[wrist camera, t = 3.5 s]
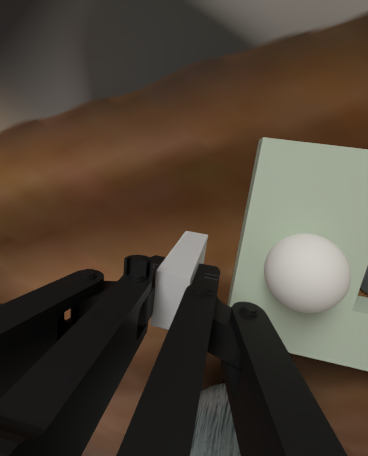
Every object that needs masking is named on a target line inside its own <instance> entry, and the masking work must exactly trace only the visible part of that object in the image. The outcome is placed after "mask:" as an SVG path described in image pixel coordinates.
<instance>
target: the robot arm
mask: <svg viewBox="0 0 368 456" xmlns="http://www.w3.org/2000/svg"><path fill="white" fill-rule="evenodd" d="M207 239H208V235H206V234H200V233H195V232H189V231H185V233H184V234H183V235H182V237H181V238H180V239H179V241H178V242H177V243H176V245H175V246H174V248H173V249H172V250H171V252H170V253H169V254H168V256H167V257H161V256H156V255H155V256H153V257H147V256H143V255H131V256H127V257H126V258H125V260H124V275H123V276H122V277H121V278H120V279H119V280H118V281H104V275H103V273H101V272H100V271H97V270H94V269H91V270H90V269H86V270H80V271H77V272H75V273H72V274H70V275H68V276H66V277H63V278H61V279H59V280H56V281H54V282H52V283H50V284H47V285H45V286H43V287H41V288H38V289H36V290H34V291H31V292H29V293H27V294H25V295H22V296H20V297H18V298H16V299H13V300H11V301H9V302H7V303H4V304H0V456H81V455H82V453H83V451H84V449H85V447H86V446H87V444H88V442H89V440H90V438H91V436H92V434H93V432H94V430H95V429H96V427H97V425H98V423H99V421H100V419H101V417H102V415H103V414H104V412H105V410H106V408H107V406H108V404H109V402H110V400H111V398H112V397H113V395H114V393H115V391H116V389H117V387H118V385H119V383H120V381H121V380H122V378H123V376H124V374H125V372H126V370H127V368H128V366H129V364H130V363H131V361H132V359H133V357H134V355H135V353H136V351H137V349H138V348H139V346H140V344H141V342H142V340H143V338H144V336H145V334H146V332H147V327H148V321H149V319H150V317H151V326H155V327H159V328H164V329H168V330H169V331H168V333H167V335H166V338H165V340H164V343H163V345H162V347H161V350H160V352H159V355H158V357H157V359H156V362H155V364H154V367H153V369H152V371H151V374H150V376H149V379H148V381H147V383H146V386H145V388H144V391H143V393H142V395H141V398H140V400H139V403H138V405H137V408H136V410H135V412H134V415H133V417H132V420H131V422H130V424H129V427H128V429H127V432H126V434H125V436H124V439H123V441H122V444H121V446H120V448H119V451H118V453H117V455H116V456H190V453H191V447H192V441H193V435H194V429H195V423H196V417H197V411H198V405H199V399H200V393H201V387H202V381H203V375H204V369H205V363H206V357H207V352H209V353H211V354H212V355H214V356H216V357H218V358H220V359H221V368H222V372H223V377H224V381H225V386H226V391H227V395H228V400H229V404H230V409H231V413H232V418H233V423H234V427H235V432H236V436H237V441H238V445H239V450H240V455H241V456H347V454H346V452H345V450H344V449H343V447H342V445H341V443H340V442H339V440H338V438H337V436H336V435H335V433H334V431H333V429H332V428H331V426H330V424H329V422H328V421H327V419H326V417H325V415H324V414H323V412H322V410H321V408H320V407H319V405H318V403H317V401H316V400H315V398H314V396H313V394H312V393H311V391H310V389H309V387H308V386H307V384H306V382H305V380H304V379H303V377H302V375H301V373H300V372H299V370H298V368H297V366H296V365H295V363H294V361H293V359H292V358H291V356H290V354H289V352H288V351H287V349H286V347H285V345H284V344H283V342H282V340H281V338H280V337H279V335H278V333H277V331H276V330H275V328H274V326H273V324H272V323H271V321H270V319H269V317H268V316H267V314H266V312H265V311H264V310H263V309H262V308H261V307H259V306H258V305H256V304H253V303H251V302H237V303H234V304H233V306H232V307H230V306H228V305H226V304H224V303H222V302H221V301H220V300H219V299H218V297H217V289H218V283H219V276H220V270H219V269H218V267H215V266H210V265H205V264H204V258H205V251H206V245H207ZM70 308H71V317H70V318H69V319H67V320H65V319H64V312H65V311H67V310H68V309H70Z"/></svg>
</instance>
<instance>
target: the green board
mask: <svg viewBox="0 0 368 456" xmlns="http://www.w3.org/2000/svg"><path fill="white" fill-rule="evenodd" d="M300 233H308V234H315V235H319V236H322V237H324V238H326V239H328V240H330V241H331V242H333V243H334V244H335V245H337V246H338V247H339V248H340V249H341V251H342V252H343V253H344V255H345V256H346V258H347V260H348V263H349V265H350V270H351V283H350V287H349V289H348V292H347V294H346V295H345V297H344V298H343V299H342V301H340V302H339V303H338V304H337V305H336V306H334V307H333V308H331V309H329V310H326V311H323V312H319V313H302V312H298V311H295V310H292V309H290V308H288V307H286V306H284V305H283V304H282V303H280V302H279V301H278V300H277V299H276V298H275V297H274V296H273V295H272V293H271V292H270V290H269V288H268V286H267V284H266V281H265V277H264V264H265V260H266V257H267V255H268V253H269V251H270V250H271V248H272V247H273V246H274V245H275V244H276V243H277V242H279V241H280V240H282V239H283V238H285V237H288V236H290V235H294V234H300ZM360 288H361V289H362V290H363V291H364V292H366V293H367V294H368V150H367V149H359V148H350V147H342V146H333V145H324V144H316V143H307V142H298V141H290V140H281V139H273V138H264V137H263V138H262V139H261V140H259V143H258V148H257V154H256V159H255V164H254V169H253V174H252V179H251V184H250V189H249V195H248V200H247V205H246V210H245V215H244V220H243V225H242V230H241V236H240V241H239V246H238V251H237V256H236V261H235V266H234V271H233V277H232V282H231V287H230V292H229V297H228V302H227V305H228V306H230V307H232V306H233V304H234V303H237V302H251V303H253V304H256V305H258V306H259V307H261V308H262V309H263V310H264V311H265V312H266V314H267V316H268V317H269V319H270V321H271V323H272V324H273V326H274V328H275V330H276V331H277V333H278V335H279V337H280V338H281V340H282V342H283V344H284V345H285V347H286V349H287V351H288V352H289V353H292V354H296V355H301V356H305V357H309V358H314V359H318V360H322V361H326V362H331V363H335V364H339V365H344V366H348V367H352V368H356V369H361V370H365V371H368V298H367V297H362V296H357V295H358V292H359V289H360Z"/></svg>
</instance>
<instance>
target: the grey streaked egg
mask: <svg viewBox="0 0 368 456" xmlns="http://www.w3.org/2000/svg"><path fill="white" fill-rule="evenodd" d="M190 456H241V455H240V450H239V445H238V441H237V436H236V432H235V427H234V423H233V418H232V413H231V409H230V404H229V400H228V395H227V391H226V386H225V383H222V384H218V385H214V386H211V387H209V388H207V389H204V390H202V391H201V393H200V399H199V405H198V411H197V417H196V423H195V429H194V435H193V441H192V447H191V453H190Z"/></svg>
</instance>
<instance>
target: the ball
mask: <svg viewBox="0 0 368 456" xmlns="http://www.w3.org/2000/svg"><path fill="white" fill-rule="evenodd" d="M264 277H265V281H266V284H267V286H268V288H269V290H270V292H271V293H272V295H273V296H274V297H275V298H276V299H277V300H278V301H279V302H280V303H282V304H283V305H284V306H286V307H288V308H290V309H292V310H295V311H298V312H302V313H319V312H323V311H326V310H329V309H331V308H333V307H334V306H336V305H337V304H338V303H339V302H340V301H342V299H343V298H344V297H345V295H346V294H347V292H348V289H349V287H350V283H351V270H350V265H349V263H348V260H347V258H346V256H345V255H344V253H343V252H342V251H341V249H340V248H339V247H338V246H337V245H335V244H334V243H333V242H331V241H330V240H328V239H326V238H324V237H322V236H319V235H315V234H308V233H300V234H294V235H290V236H288V237H285V238H283V239H282V240H280V241H279V242H277V243H276V244H275V245H274V246H273V247H272V248H271V250H270V251H269V253H268V255H267V257H266V260H265V264H264Z"/></svg>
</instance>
